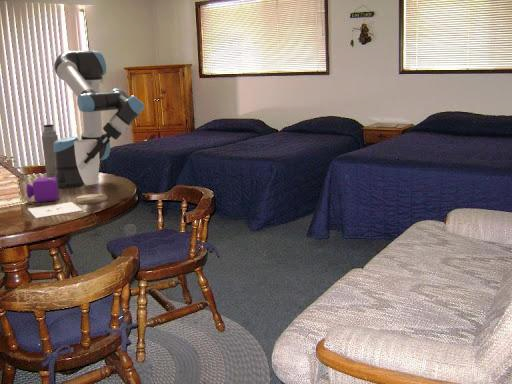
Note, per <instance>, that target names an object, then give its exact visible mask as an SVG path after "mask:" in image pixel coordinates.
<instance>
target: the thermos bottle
mask: <svg viewBox="0 0 512 384" xmlns="http://www.w3.org/2000/svg"><path fill="white" fill-rule="evenodd" d="M57 140H59V137H58V134H57V131H56V130H55V129H54V124H43V131H42V135H41V143H42V150H43V151H42V152H43V157H44V158H43V159H44V166H45V167H44V168H45V175H46V177H45V178H50V177H55V175H56V163H55V155H54V142H55V141H57Z"/></svg>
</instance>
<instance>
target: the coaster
mask: <svg viewBox="0 0 512 384" xmlns="http://www.w3.org/2000/svg"><path fill="white" fill-rule="evenodd" d="M106 201H108V195H107V194H104V193H89V194H83V195H79V196H76V198H75V203H77V204H79V205H92V204H95V205H96V204H98V203H103V202H106Z"/></svg>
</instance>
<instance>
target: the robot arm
mask: <svg viewBox="0 0 512 384" xmlns="http://www.w3.org/2000/svg"><path fill="white" fill-rule="evenodd" d="M53 65H54V66H53V67H54V72H55V75H57V76H58V78H59V79H60V80H63V81H64V82H65V83H66V85H67V86H68V87H69V89H70V90H71V92H73V94H74V95H75V96H76V97H77V100H76V103H77V107H78V110H79V111H80V112H81V113H82V120H83V121H82V122H83V132H82V133H81V134H80V137H81V138H80V139H79V138H78V136H70V137H69V136H68V137H63V138H60V139H59V138H58V140H57V141H55V142H54V155H55V163H56V175H55V178H57V181H58V189H70V188H71V189H72V188H78V187H82V186H85V184H84V182H83V180H82V178H81V176H80V174H79V170H78V168H80V169H81V170H82V171H83V169H84V168H85V167H86V166H87V165H88V164H89V163H90V161H91V160H92V159H93V158H94V157H95V156H96V155H97V153H98V152H99V159H100V161H103V160H106V159H107V158H108V157H109V156H110V152H111V143H110V141H111V140H110V139H111V138H112V139H114V140H118V139H119V138H120V137H121V136H122V133H123V132H124V131H127V130H129V126H130V125H131V124H132V123H133V122H134V121H135V120H136V119H137V118H138V116H139V115H141V113H142V112H143V110H144V109H145V104H144V103H143V102H142V101H141V100H140V99H139V98H137V97H136V96H135V95H131V96H129V95H128V94H127V93H126V91H124V90H123V89H121V88H113V89H111V90H110V91H109V92H101V87H100V83H101V82H102V80H103V76H104V75H106V74H107V64H106V60H105V57H104V55H103V54H102V52H100V51H98V50H67V51H63V52H62V53H61V54H59V55H58V56H57V57H56V59H55V61H54V64H53ZM115 110H116V113H114V114H113V115H112V117H110V119H109V122H106V123H105V125H104V126H103V127H102V112H104V111H115ZM88 139H95V140H98V142H97V145H96V146H95V147H94V148H93V150H92V151H91V152H90V153H87V156H86V157H85V158H84V159H83V160H82V161H81V163H80V164H79V165H78V166H77V164H76V158H75V148H74V142H75V141H78V140H88Z"/></svg>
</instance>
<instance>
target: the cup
mask: <svg viewBox="0 0 512 384" xmlns="http://www.w3.org/2000/svg"><path fill="white" fill-rule="evenodd" d="M97 142H98V140H95V139H88V140H78V141H75V142H74V148H75V158H76V164H77V166H78V165H79V164H80V163H81V161H82V160H83V159H84V158H85V157H86V156H87V153H90V152H91V151H92V150H93V148H94V147H95V146H96V145H97ZM100 161H101V160H100V159H99V152H98V153H97V155H96V156H95V157H94V158H93V159H92V160H91V161H90V163H89V164H88V165H87V166H86V167H85V168H84V169H83V171H82V170H81V169H80V168H78V170H79V174H80V176H81V178H82V180H83V182H84V184H85V185H86V186H87V185H88V186H92V185H95V184H97V180H98V177H99V173H100V172H99V171H100V164H101V162H100ZM85 185H84V186H85Z"/></svg>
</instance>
